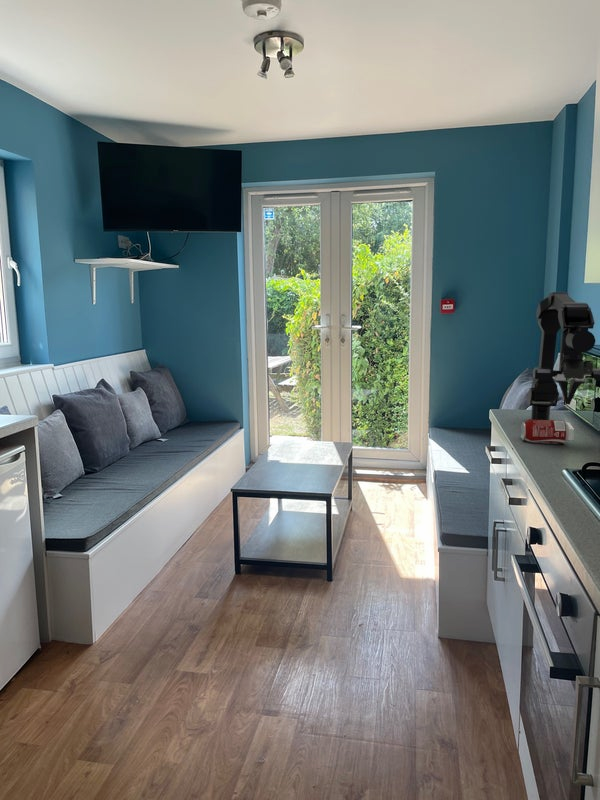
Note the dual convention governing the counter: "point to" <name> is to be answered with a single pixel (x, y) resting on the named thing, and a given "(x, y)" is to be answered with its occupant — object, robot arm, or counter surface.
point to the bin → (570, 431)
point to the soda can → (545, 431)
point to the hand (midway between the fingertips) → (567, 404)
